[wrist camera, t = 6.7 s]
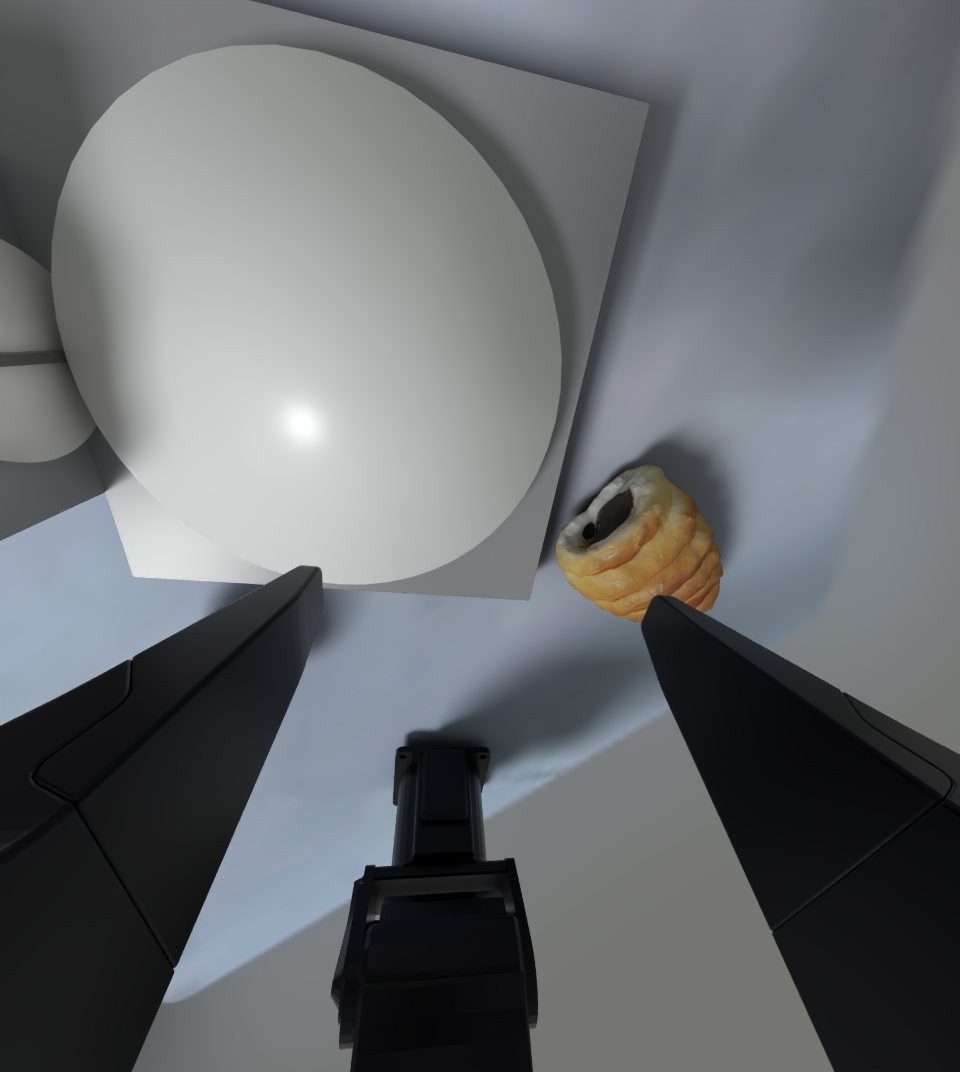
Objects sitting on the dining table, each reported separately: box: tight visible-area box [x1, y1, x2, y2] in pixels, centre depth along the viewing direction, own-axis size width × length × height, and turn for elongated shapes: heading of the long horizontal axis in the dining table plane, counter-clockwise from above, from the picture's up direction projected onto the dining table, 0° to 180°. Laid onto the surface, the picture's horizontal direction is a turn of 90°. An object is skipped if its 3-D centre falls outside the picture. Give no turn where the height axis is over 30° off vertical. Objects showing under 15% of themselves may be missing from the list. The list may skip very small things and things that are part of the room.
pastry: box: [556, 465, 723, 622], centre depth 19 cm, size 9×7×4 cm
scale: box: [0, 0, 650, 600], centre depth 12 cm, size 18×21×7 cm
